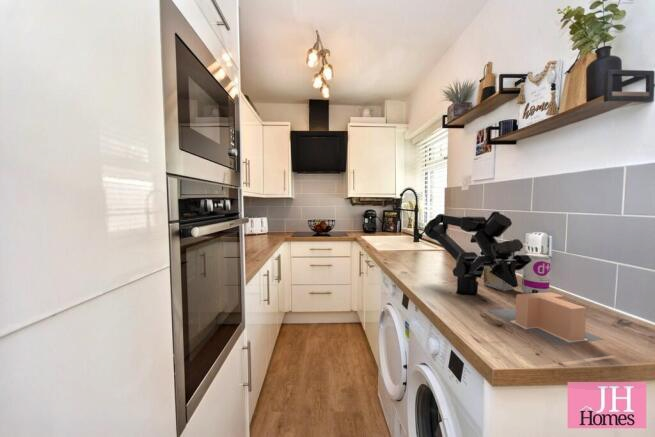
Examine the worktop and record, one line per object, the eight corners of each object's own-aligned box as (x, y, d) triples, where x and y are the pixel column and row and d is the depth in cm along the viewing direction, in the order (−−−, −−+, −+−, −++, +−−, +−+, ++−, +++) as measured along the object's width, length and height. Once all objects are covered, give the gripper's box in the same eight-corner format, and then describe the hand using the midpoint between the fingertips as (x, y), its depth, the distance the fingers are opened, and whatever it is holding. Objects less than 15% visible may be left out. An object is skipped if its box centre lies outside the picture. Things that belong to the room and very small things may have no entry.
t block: (515, 322, 76) (516, 294, 76) (549, 319, 79) (551, 292, 79) (557, 342, 65) (559, 310, 65) (596, 338, 68) (598, 306, 67)
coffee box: (514, 289, 109) (516, 249, 108) (503, 291, 106) (505, 250, 106) (492, 283, 117) (494, 246, 117) (482, 284, 115) (483, 247, 114)
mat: (485, 311, 85) (485, 310, 85) (524, 308, 88) (524, 307, 88) (556, 346, 64) (556, 345, 64) (604, 340, 67) (604, 339, 67)
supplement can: (553, 298, 99) (556, 257, 98) (528, 296, 101) (530, 256, 100) (541, 291, 107) (543, 253, 106) (517, 289, 108) (519, 252, 108)
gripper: (478, 230, 85) (507, 274, 75) (527, 230, 89) (561, 271, 79) (460, 251, 93) (484, 293, 83) (506, 250, 97) (534, 290, 87)
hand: (516, 286), depth 83 cm, fingers closed
